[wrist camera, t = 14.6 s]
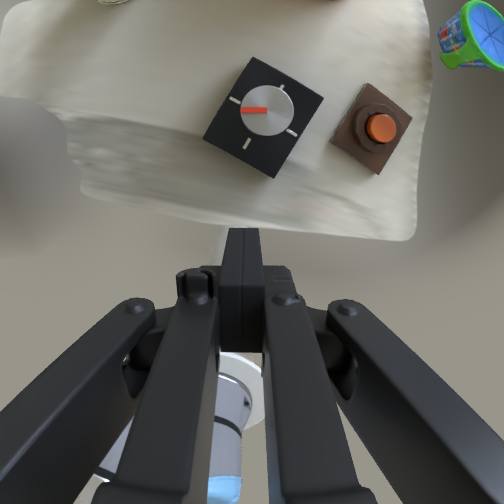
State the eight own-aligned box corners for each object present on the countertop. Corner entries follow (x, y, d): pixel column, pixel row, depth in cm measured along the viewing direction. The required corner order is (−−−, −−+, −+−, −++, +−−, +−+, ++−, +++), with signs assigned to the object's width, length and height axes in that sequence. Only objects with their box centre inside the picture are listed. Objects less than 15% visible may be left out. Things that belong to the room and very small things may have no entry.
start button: (382, 147, 36) (388, 148, 34) (361, 131, 35) (365, 131, 34) (395, 125, 35) (401, 125, 33) (374, 109, 34) (379, 108, 33)
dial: (284, 96, 34) (294, 85, 26) (284, 136, 35) (294, 136, 28) (242, 96, 34) (240, 84, 26) (242, 136, 35) (240, 135, 28)
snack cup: (461, 6, 29) (496, -10, 19) (493, 59, 32) (532, 53, 22) (405, 32, 32) (441, 13, 23) (443, 92, 35) (485, 87, 26)
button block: (375, 174, 40) (383, 177, 37) (329, 141, 38) (335, 141, 36) (408, 118, 37) (419, 117, 34) (365, 83, 35) (373, 80, 33)
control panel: (272, 175, 40) (273, 179, 37) (205, 138, 38) (201, 138, 35) (319, 100, 37) (324, 97, 34) (252, 62, 35) (252, 56, 32)
